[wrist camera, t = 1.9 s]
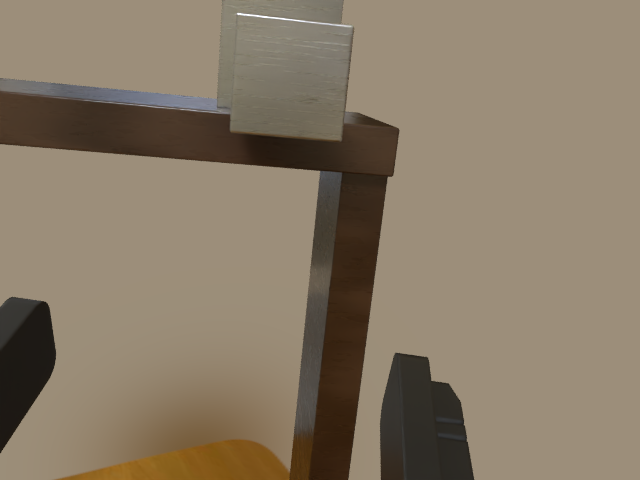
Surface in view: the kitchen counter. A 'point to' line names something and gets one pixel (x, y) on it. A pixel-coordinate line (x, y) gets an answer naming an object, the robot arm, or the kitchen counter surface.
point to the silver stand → (285, 67)
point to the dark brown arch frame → (226, 147)
